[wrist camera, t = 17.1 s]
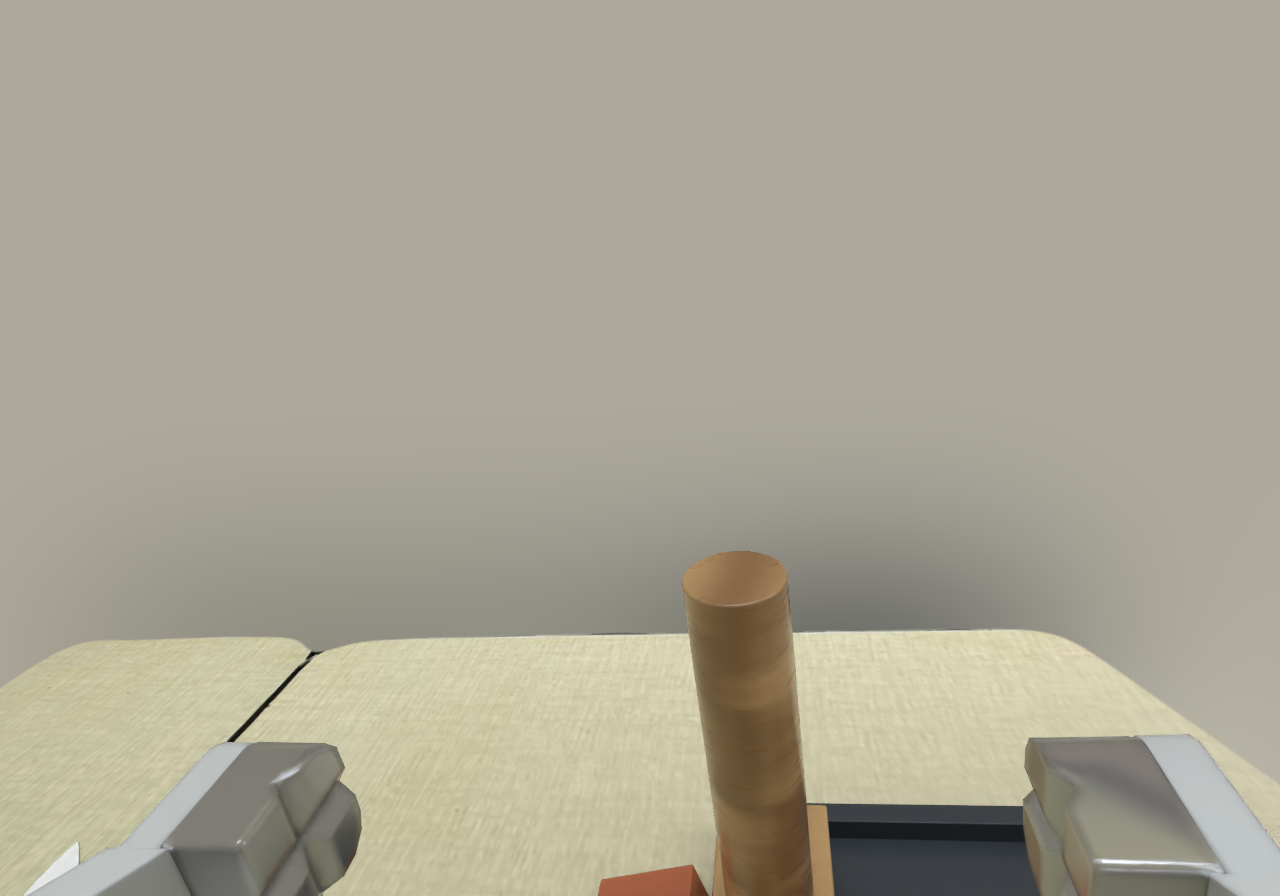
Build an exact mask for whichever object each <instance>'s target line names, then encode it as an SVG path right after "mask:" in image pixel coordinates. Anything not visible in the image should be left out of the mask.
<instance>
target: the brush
mask: <svg viewBox="0 0 1280 896" xmlns="http://www.w3.org/2000/svg"><path fill="white" fill-rule="evenodd" d="M682 589H683V596H684V603H685V610H686V618H687V625H688V631H689V639H690V646H691V653H692V660H693V667H694V674H695V682H696V689H697V696H698V703H699V710H700V717H701V724H702V731H703V738H704V746H705V753H706V760H707V767H708V774H709V781H710V788H711V795H712V803H713V810H714V817H715V824H716V831H717V837H716V851H715V864H714V878H713V892H712V896H835V893H834V882H833V871H832V860H831V849H830V837H829V826H828V815H827V807H826V806H825V805H807V803H806V791H805V779H804V767H803V754H802V742H801V730H800V718H799V706H798V694H797V682H796V670H795V658H794V646H793V634H792V622H791V609H790V598H789V585H788V575H787V571H786V569H785V568H784V566H783V565H782V564H781V563H780V562H779V561H778V560H776V559H774V558H772V557H771V556H768V555H765V554H761V553H757V552H750V551H731V552H724V553H719V554H715V555H711V556H708V557H706V558H704V559H701V560H699V561H698V562H697V563H695V564H693V565H692V566H691V567H690V568H689V569H688V570H687V571H686V572H685V574H684V577H683V580H682Z"/></svg>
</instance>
